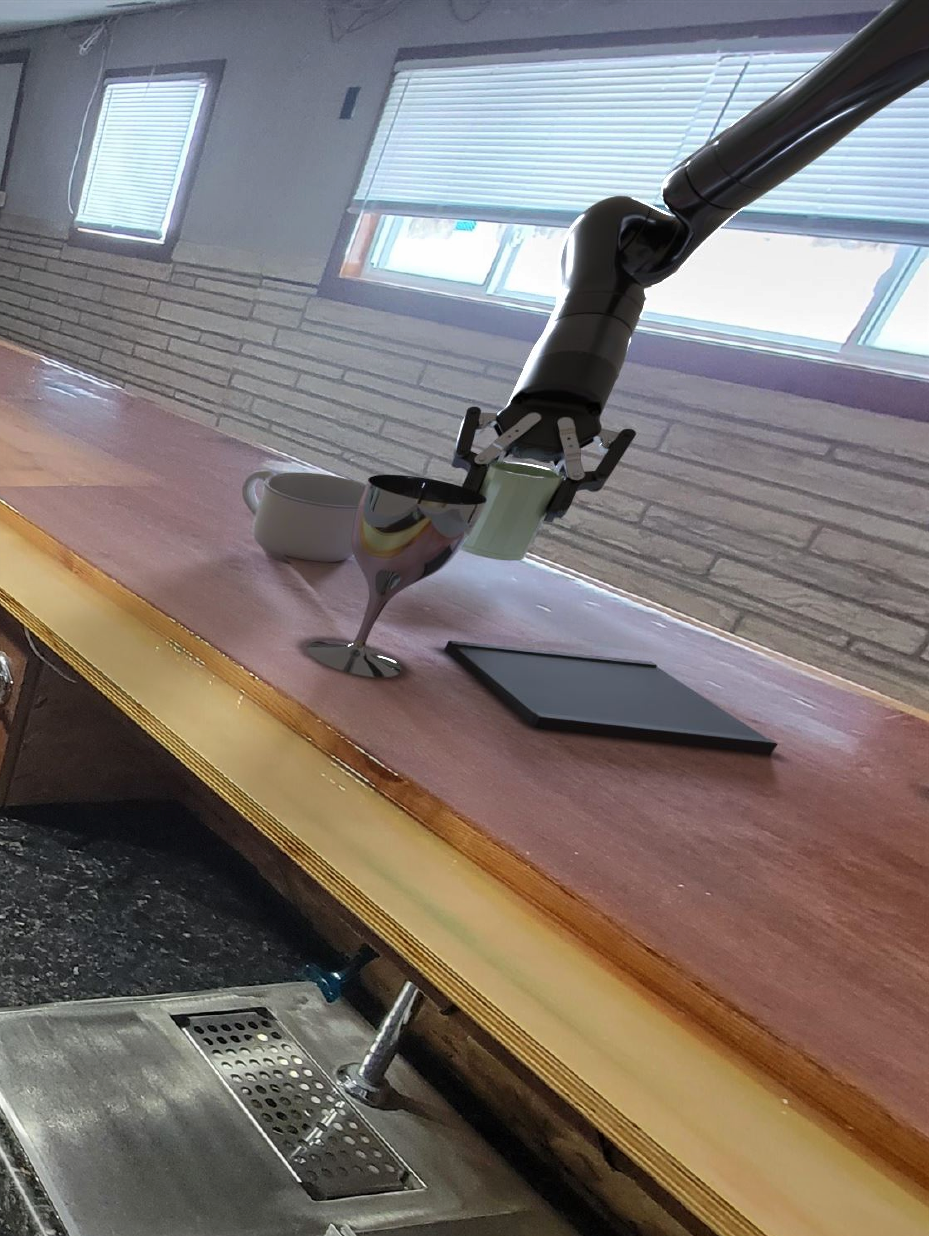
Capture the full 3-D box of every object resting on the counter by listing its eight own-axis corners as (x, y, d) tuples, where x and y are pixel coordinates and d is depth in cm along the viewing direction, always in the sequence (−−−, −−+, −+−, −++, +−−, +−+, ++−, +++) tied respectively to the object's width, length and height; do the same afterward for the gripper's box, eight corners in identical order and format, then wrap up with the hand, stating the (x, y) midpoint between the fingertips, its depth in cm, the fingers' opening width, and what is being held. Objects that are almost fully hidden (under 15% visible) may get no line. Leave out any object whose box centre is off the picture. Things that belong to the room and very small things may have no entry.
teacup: (378, 574, 105) (410, 500, 101) (291, 578, 103) (319, 503, 99) (280, 529, 117) (305, 461, 113) (200, 533, 115) (222, 463, 111)
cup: (504, 543, 107) (542, 464, 103) (537, 563, 102) (578, 480, 97) (443, 538, 108) (477, 459, 103) (472, 557, 102) (510, 475, 98)
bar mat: (644, 672, 87) (651, 661, 86) (769, 756, 75) (778, 743, 74) (443, 651, 89) (448, 640, 88) (533, 729, 77) (540, 716, 76)
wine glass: (392, 648, 89) (467, 482, 81) (419, 687, 82) (503, 510, 75) (292, 633, 91) (356, 469, 84) (311, 669, 84) (382, 495, 77)
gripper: (493, 338, 104) (431, 474, 102) (677, 359, 96) (613, 506, 94) (476, 384, 110) (417, 513, 108) (647, 407, 102) (587, 546, 100)
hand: (508, 509), depth 101 cm, fingers closed on cup, 6 cm apart
